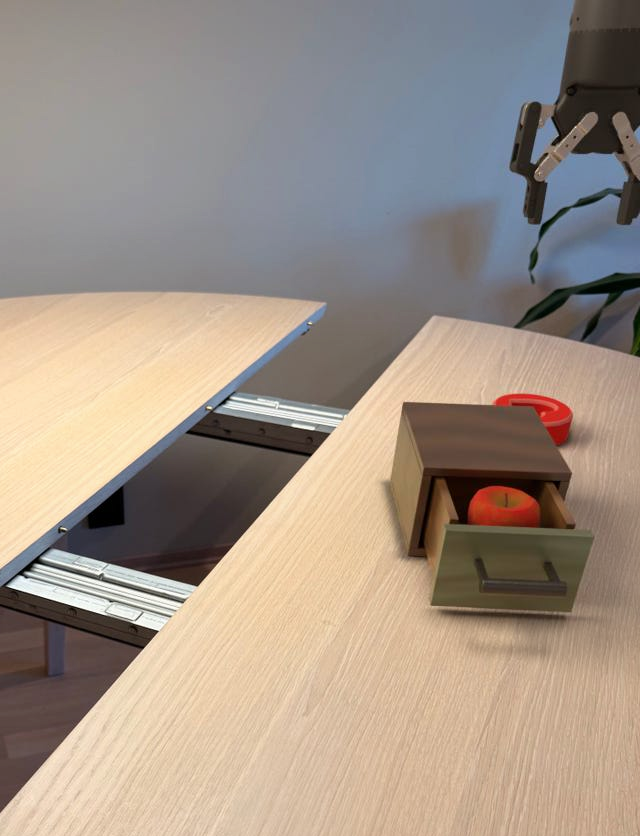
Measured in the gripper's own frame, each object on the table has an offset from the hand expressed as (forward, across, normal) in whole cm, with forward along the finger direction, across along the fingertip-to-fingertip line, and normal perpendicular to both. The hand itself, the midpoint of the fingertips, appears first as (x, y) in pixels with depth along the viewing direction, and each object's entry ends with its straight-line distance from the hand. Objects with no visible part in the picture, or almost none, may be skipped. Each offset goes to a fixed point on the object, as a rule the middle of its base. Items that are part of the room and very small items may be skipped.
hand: (578, 224), depth 95 cm
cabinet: (+29, -8, -5) cm, 30 cm away
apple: (+29, -8, -17) cm, 34 cm away
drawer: (+30, -8, -18) cm, 36 cm away
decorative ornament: (+26, +5, +19) cm, 32 cm away
